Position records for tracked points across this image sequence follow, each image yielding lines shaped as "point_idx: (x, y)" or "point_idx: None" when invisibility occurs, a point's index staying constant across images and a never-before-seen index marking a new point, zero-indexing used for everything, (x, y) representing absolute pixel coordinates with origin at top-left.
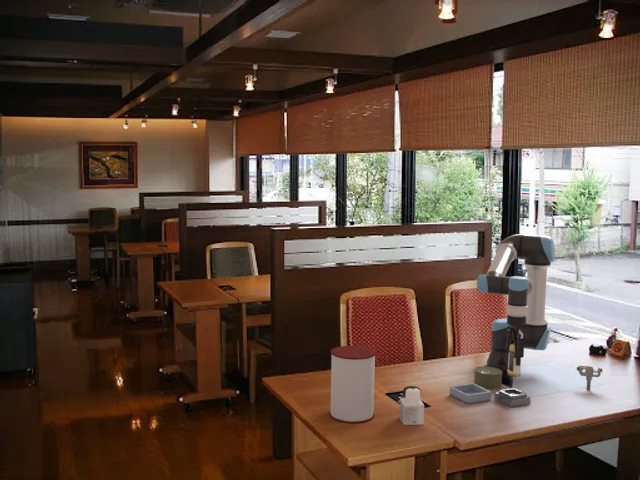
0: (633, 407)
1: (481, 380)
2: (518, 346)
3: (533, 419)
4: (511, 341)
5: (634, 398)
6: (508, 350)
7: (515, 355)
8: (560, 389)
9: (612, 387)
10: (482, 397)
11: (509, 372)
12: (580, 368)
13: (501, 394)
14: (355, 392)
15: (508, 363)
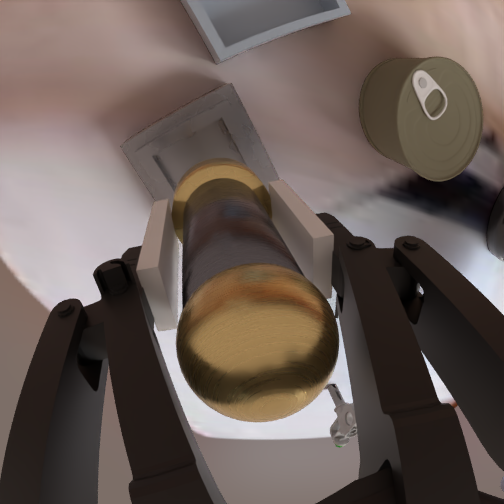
0: (211, 436)
1: (392, 69)
2: (17, 420)
3: (24, 213)
4: (367, 369)
5: (269, 439)
6: (355, 244)
7: (116, 294)
8: (341, 336)
9: (337, 416)
10: (195, 20)
11: (192, 173)
12: (355, 418)
13: (203, 110)
14: None
15: (287, 193)
